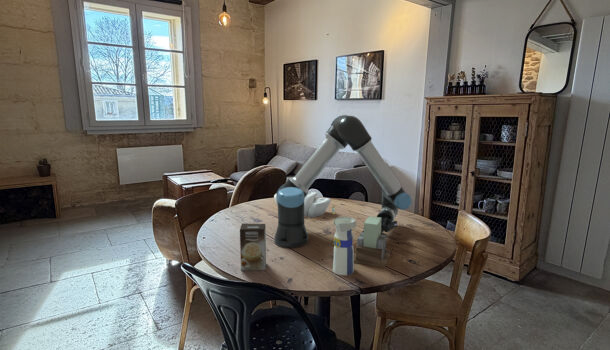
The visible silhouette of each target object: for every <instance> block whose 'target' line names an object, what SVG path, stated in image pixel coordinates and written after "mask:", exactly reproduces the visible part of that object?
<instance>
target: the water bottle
mask: <svg viewBox="0 0 610 350" xmlns="http://www.w3.org/2000/svg"><path fill="white" fill-rule="evenodd" d="M331 209H332V211H331V213H332V214H333V215H335V211H336V208H335V205H334V204H333V206H331ZM357 226H358V225H357V220H356V219H355V218H354V217H350V216H339V217H336V218H334V219H333V229H335V233H334V238H333V241H332V242H333V243H332V244H333V246H334V247H333V261H332V262H333V263H332V272H333V273H334V274H336V275H339V276H349V275H352V274H353V273H354V272H355V265H354V254H355V252H354V251H355V250H354V249H355V248H354V245H353V239H354V237H355V235H354V233H353V229H355V228H356V227H357Z"/></svg>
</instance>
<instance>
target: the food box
mask: <svg viewBox="0 0 610 350" xmlns="http://www.w3.org/2000/svg"><path fill="white" fill-rule="evenodd" d="M266 230H267V229H266V223H241V225H240V227H239V246H240V248H239V249H240V271H265V270H266V267H267V248H266V247H267V246H266V245H267V244H266V242H267V239H266V237H267V236H266V235H267V234H266ZM265 266H266V267H265Z"/></svg>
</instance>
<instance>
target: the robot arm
mask: <svg viewBox="0 0 610 350" xmlns="http://www.w3.org/2000/svg"><path fill="white" fill-rule="evenodd" d="M324 134H325V138H324V139H323V141H322V142H321V143H320V144H319V146H318V147H317V148H316V149H315V151H314V152H313V153H312V154H311V156H309V158H308V160H306V162H305V163H304V164H303V166H302V167H301V168H300V169H299V171H298V172H297V173H296V174H295V175H294V177H293V176H292V177H289V178H288V180H287V181H285V183H284V184H282V185H281V186H280V187H279V188H278V190H277V191H276V193H277V195H276V198H277V204H278V207H277V222H278V224H277V227H276V231H275V234H274V244H276V245H278V246H279V247H282V248H300V247H303V246H305V245H307V244H308V242H309V234H308V232H307V231H308V230H307V229H306V225H305V217H304V200H305V197H306V196H307V194H309V188H310V187H311V186H312V184H313V183H314V182H315V181H316V180H317V179H318V177H319V176H320V175H321V173H322V172H323V170H324V169H325V168H326V167H327V166H328V164H329V163H330V162H331V161H332V160H333V158H334V157H335V156H336V155H337V153H338V152H339V151H340V150H344V149H346V148H347V146H349V147H350V148H351V150H352V151H353V152H355V153H357V154H358V155H359V157H360V158H361V160H362V161H363V163H364V164H365V165H366V167H367V169H368V170H369V172H370V173H371V174H372V175H373V177H374V178H375V180H376V181H377V183H378V184H379V186H380V187H381V209H380V211H379V212H378V214H377V215H376V217H380V218H381V233H384V232H385V233H389V232H390V231H391V230H393V229H395V228H397V227H398V221H397V220H395V218H396V217H397V215H398V212H399V210H406V209H409V208H410V207H411V206H412V202H413V201H412V200H413V199H412V197H411V196H410V194H409V193H407V192H406V191H405V189H404V188H403V187H402V185H401V184H400V182H399V181H398V179H397V178H396V176H395V175H394V173H393V172H392V171H391V169H390V167H389V166H388V164H387V163H386V161H385V160H384V158H383V157H382V156H381V154H380V152H379V150H377V148H376V147H375V145H374V143H373V142H372V140H373V138H372V136H371V134H370V133H369V132H368V130H367V129H366V126H365V125H364V124H363V123H362V121H361V120H360V119H359V118H358V117H356V116H354V115H347V114H342V115H339V116H337V117H336V118H334V119H333V120H332V123H331V124H330V127H329V128H328V129H327V130H326V132H325V133H324ZM277 204H276V205H277Z"/></svg>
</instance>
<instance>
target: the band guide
mask: <svg viewBox="0 0 610 350" xmlns="http://www.w3.org/2000/svg"><path fill="white" fill-rule="evenodd" d="M356 239H357V240H356V241H357V245H356V247H355V252H354V263H355V264H361V265H367V266H373V267H379V268H384V269H385V268H386V266H387V264H388V261H389V259H390V257H391V254H392V250H391V249H387V232H385V233H384V232H382V233H381V235H380V237H379V239H378V241H377V249H376V248H370V247H363V241H364V230H362V231H361V232H360V234H359V235H358V237H357V238H356Z"/></svg>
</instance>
